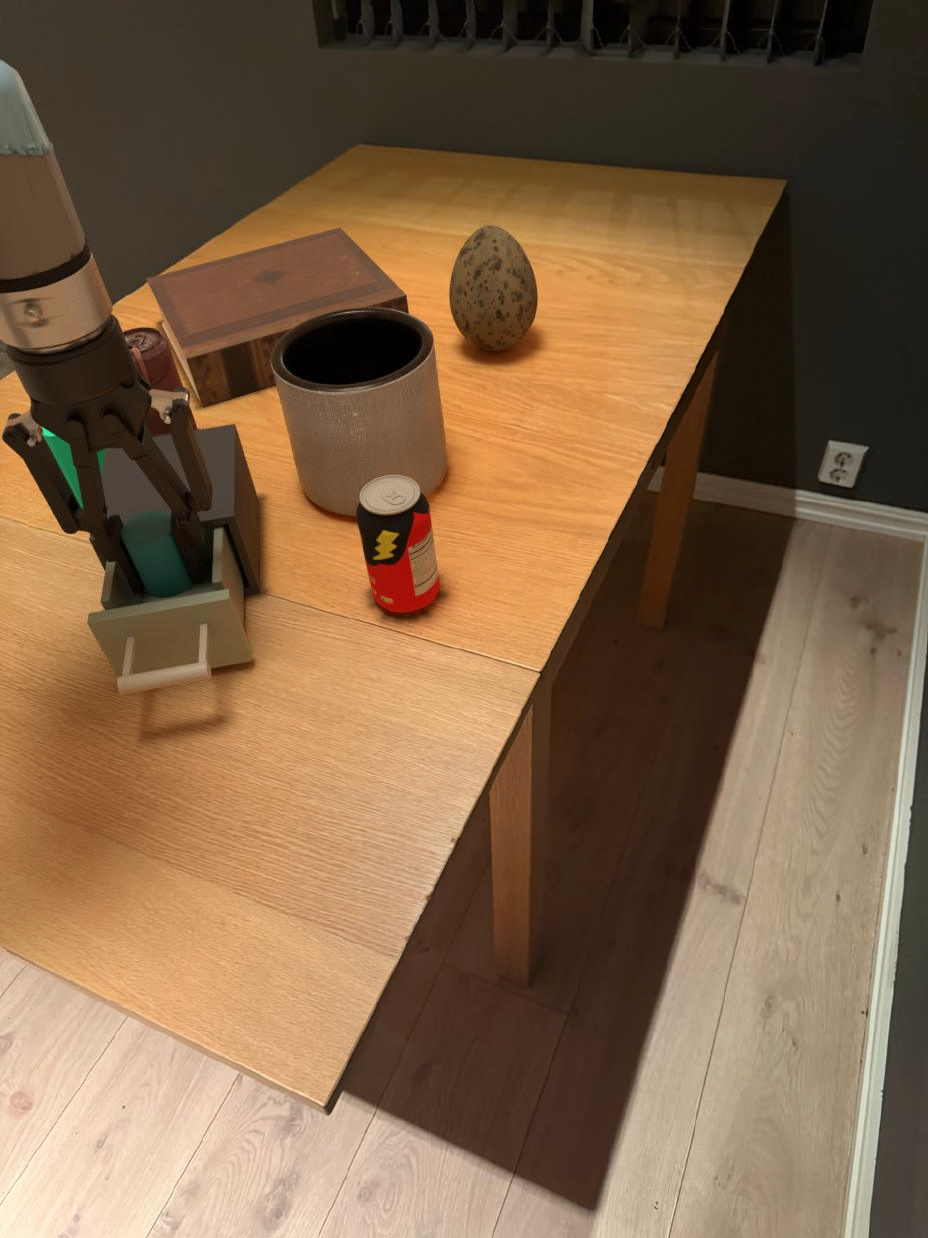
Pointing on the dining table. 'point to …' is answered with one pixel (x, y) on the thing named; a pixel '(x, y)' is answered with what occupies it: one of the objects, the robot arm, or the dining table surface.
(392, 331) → the planter
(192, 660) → the drawer
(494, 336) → the decorative egg
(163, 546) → the teal cylinder
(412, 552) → the beverage can
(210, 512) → the cabinet
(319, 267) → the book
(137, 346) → the can
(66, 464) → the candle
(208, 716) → the dining table surface
